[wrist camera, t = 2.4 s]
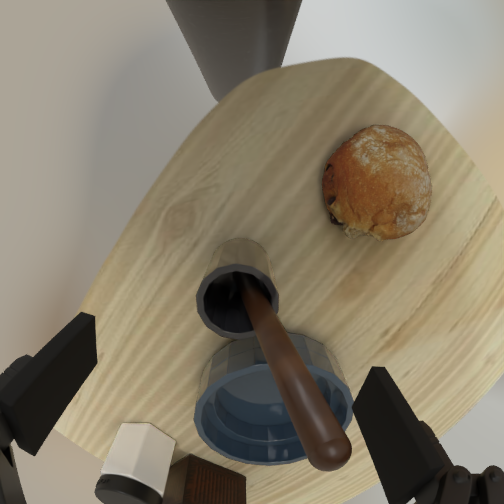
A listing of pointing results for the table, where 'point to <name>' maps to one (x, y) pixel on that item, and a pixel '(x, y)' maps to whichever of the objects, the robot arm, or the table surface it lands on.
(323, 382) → the bowl
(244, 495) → the manual coffee grinder
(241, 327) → the holder
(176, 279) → the table surface
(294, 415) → the stick
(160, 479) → the jar
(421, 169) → the bread roll
